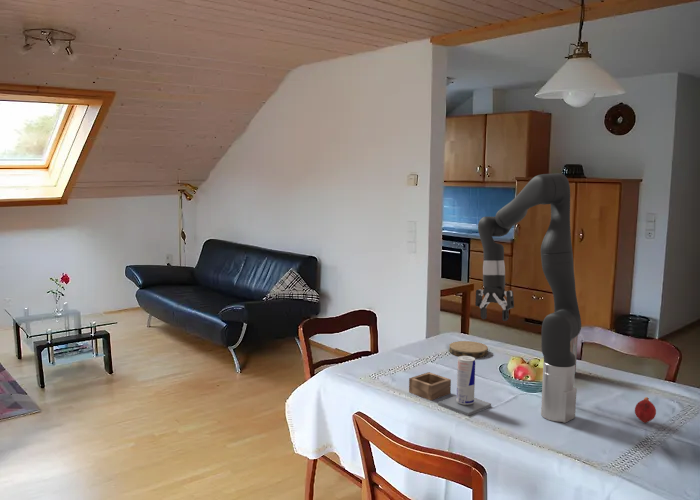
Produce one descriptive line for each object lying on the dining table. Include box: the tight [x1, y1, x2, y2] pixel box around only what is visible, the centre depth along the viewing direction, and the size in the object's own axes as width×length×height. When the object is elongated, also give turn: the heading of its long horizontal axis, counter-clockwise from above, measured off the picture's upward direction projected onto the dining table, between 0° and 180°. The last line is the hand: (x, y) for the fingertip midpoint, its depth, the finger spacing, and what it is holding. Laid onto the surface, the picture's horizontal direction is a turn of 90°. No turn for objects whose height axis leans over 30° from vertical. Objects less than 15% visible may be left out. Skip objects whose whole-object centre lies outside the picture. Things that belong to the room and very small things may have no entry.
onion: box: [634, 396, 657, 424], centre depth 184 cm, size 6×6×8 cm
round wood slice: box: [448, 340, 489, 359], centre depth 255 cm, size 16×16×3 cm
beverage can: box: [456, 356, 476, 405], centre depth 196 cm, size 6×6×15 cm
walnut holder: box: [408, 372, 452, 401], centre depth 208 cm, size 10×10×5 cm
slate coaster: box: [438, 394, 492, 417], centre depth 197 cm, size 12×12×1 cm
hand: (494, 319), depth 212 cm, fingers open, 8 cm apart
